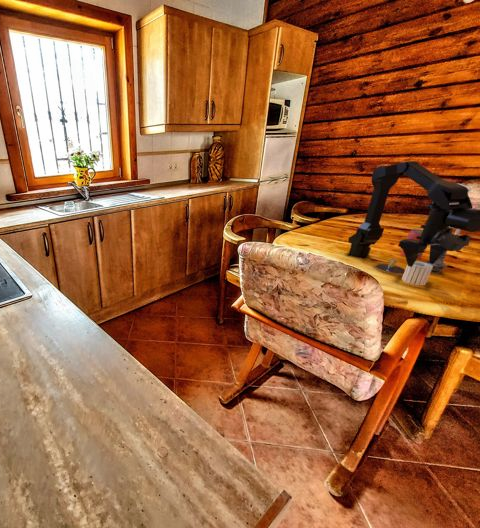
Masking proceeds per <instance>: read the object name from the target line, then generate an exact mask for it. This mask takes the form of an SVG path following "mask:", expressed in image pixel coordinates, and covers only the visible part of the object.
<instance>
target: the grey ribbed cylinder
mask: <svg viewBox="0 0 480 528" xmlns="http://www.w3.org/2000/svg"><path fill="white" fill-rule="evenodd" d="M432 268H433V266H432V265H430V264H428V263H425V262H423V261H419V260H416V261H415V263H414V265H413V266H412V267H410V266H408V264H407V263H406V267H405V269H404V270H405V272H404V273H402V274H403V275H402V277H401V280H402V281H403V282H404V283H407V284H410V285H414V286H425V285H426V284H427V281H428V279H429V277H430V274H431V270H432Z"/></svg>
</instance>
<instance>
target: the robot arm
mask: <svg viewBox="0 0 480 528" xmlns="http://www.w3.org/2000/svg"><path fill="white" fill-rule="evenodd" d="M402 176H406V177H407V178H408V179H410V180H411V181H413V182H414V183H416V184H417V185H418V186H420V187H421V188H423V189H424V190H425V191H426V196H427V197H428V198H429V199H430V201H431V203H428V204H426V205H425V206H424V208H425V209H429V210H430V211H429V214H428V216H427V218H426V220H425V224H420V227H419V228H421V229H422V230H423V231H422V234H421V236H417V237H416V239H419V240H420V241H419V240H415V239H407V238H405V239H401V240H399V243H398V244H397V246H398V247H399V248H400V249H401V250H402V249H403V251H404V254H405V256H404V257H405V261H406V265H407V264H408V266H410V267H412V266H413V265H414V263H415V261H417V260H418V256H419V254H422V253H423V254H424V253H426V250H427V248H428V247H429V258H428V261H429V263H431V264H434V263H435V262H436V261H437V260H438V259H439V258H440V257H441V256H442V255H443V254H444V253H445V252H446V251H447V252H454V251H461V250H462V249H463V248H465V247H468V246H470V242H471V238H472V236H471V235H470V234H461V235H454V234H455V233H453V230H454V229H460V231H465V232H469V233H476V232H478V231H480V208H478V209H477V208H473V207H474V206H473V204H472V201H471V199H470V196H469V193H468V189H467V188H468V187H467V188H466V187H465V186H466V185H464V186H462V185H463V184H462V185H460V184H461V183H458V184H457V182H453V181H449V180H446V179H443V178H442V177H440V176H438V175H437V174H435V173H433V172H432V171H430V170H429V169H428V168H426V167H425V166H423V165H421V164H420V163H419V162H418V161H416V160H410V161H409V160H408V161H407V160H406V161H402V162H398V163H395V164H390V165H382V166H381V165H380V166H377V167H376V168H375V169H373V171H372V174H371V180H370V181H371V184H372V187H373V191H372V194H371V198H370V201H369V203H368V204H369V205H368V208H367V212H366V215H365V217H364V221H363V222H362V223H361V224H360V225H359V226H358V227H357V229H356V232H355V233H354V234H353V235H351V236H350V237H348V243H349V244H350V249H349V251H348V253H347V256H348V257H354V258H358V259H363V260H365V259H366V258H368V257H369V256H370V253H371V250H372V247H371V246H372V245H375V244H376V243H377V242H378V241H380V239H381V238H383V233H384V231H385V227H382V226H381V224H380V222H381V218H382V215H383V212H384V209H385V206H386V203H387V200H388V196H389V193H390V190H391V189H392V187H393V186H394V185H396V184H397V182H398V181H399V179H400V177H402ZM454 203H459V204H454ZM450 227H453V229H452V228H450ZM423 254H422V255H423Z"/></svg>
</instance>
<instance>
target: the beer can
mask: <svg viewBox="0 0 480 528" xmlns="http://www.w3.org/2000/svg"><path fill="white" fill-rule="evenodd" d="M422 231H423V229H416V228H413V229H411V230H410V232H409V233H408V234H407V236H406V239H415V240H419V239H416V237H417V236H421V234H422ZM419 241H420V240H419ZM400 254H401V256H402V257H405V254H404V251H403V249H401V252H400ZM423 254H424V253H422V254H419V256H418V258H417V260H418V259H421V258H422V256H423Z"/></svg>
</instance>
